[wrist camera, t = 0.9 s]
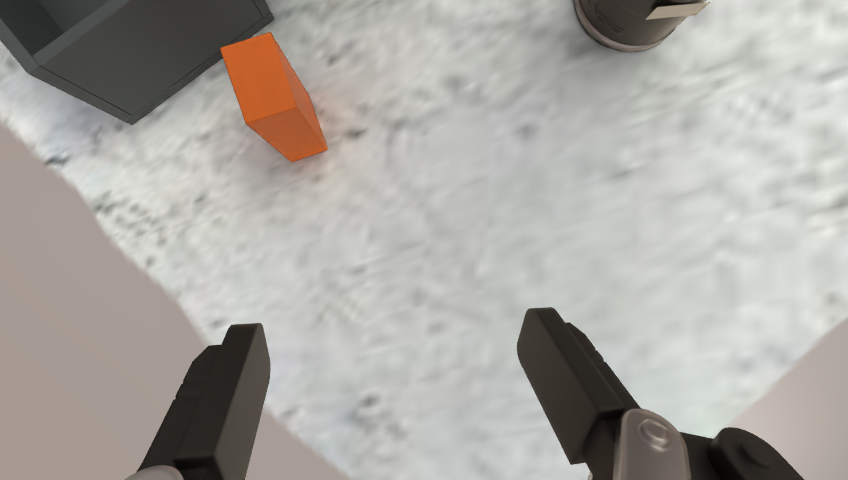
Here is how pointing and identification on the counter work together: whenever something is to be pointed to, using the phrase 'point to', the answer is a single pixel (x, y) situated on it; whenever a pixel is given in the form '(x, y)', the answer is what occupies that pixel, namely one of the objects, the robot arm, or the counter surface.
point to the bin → (125, 45)
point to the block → (273, 97)
